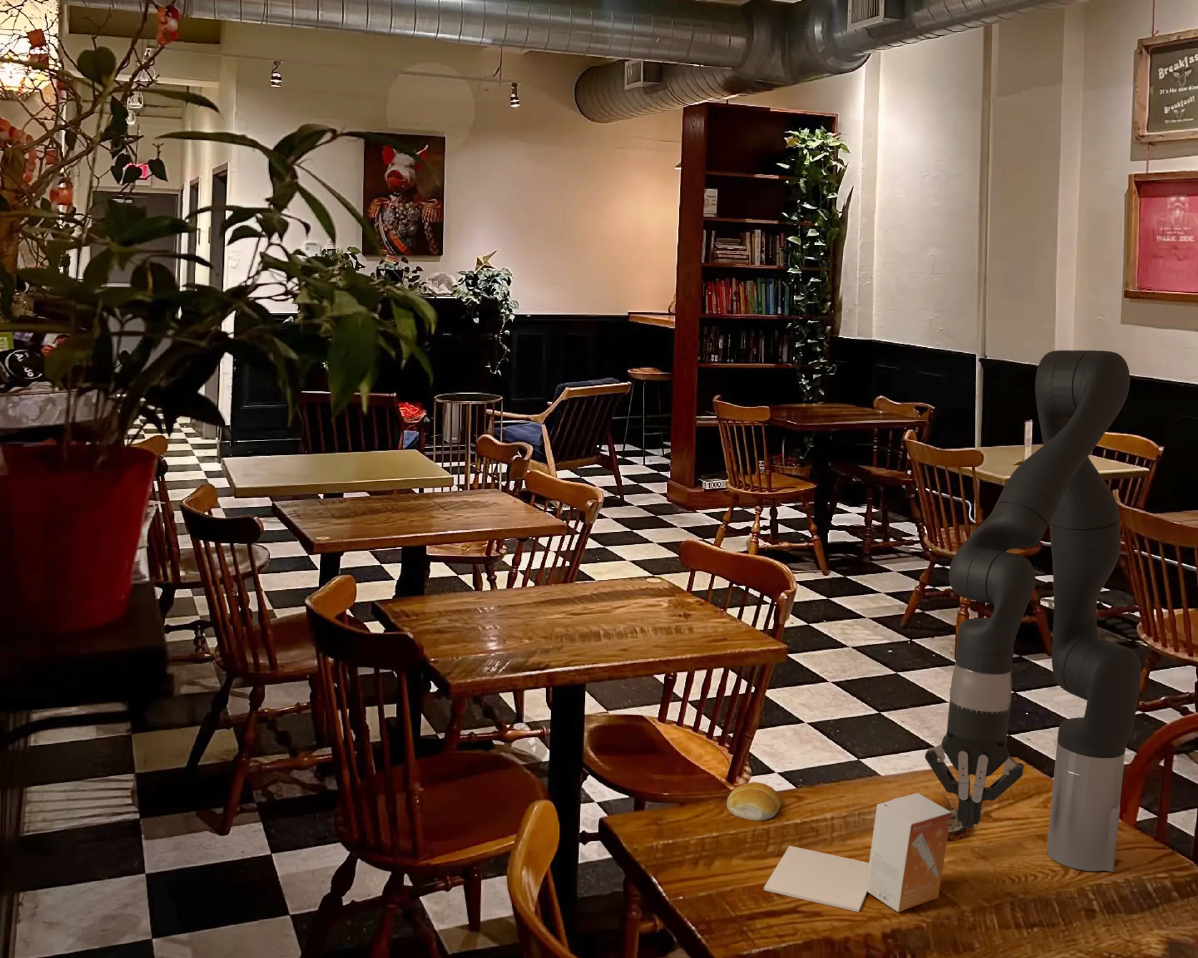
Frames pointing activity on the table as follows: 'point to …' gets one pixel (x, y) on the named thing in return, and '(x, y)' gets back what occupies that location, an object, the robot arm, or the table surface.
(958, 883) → the table surface
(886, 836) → the small box
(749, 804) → the bread roll
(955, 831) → the burger
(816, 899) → the mat
